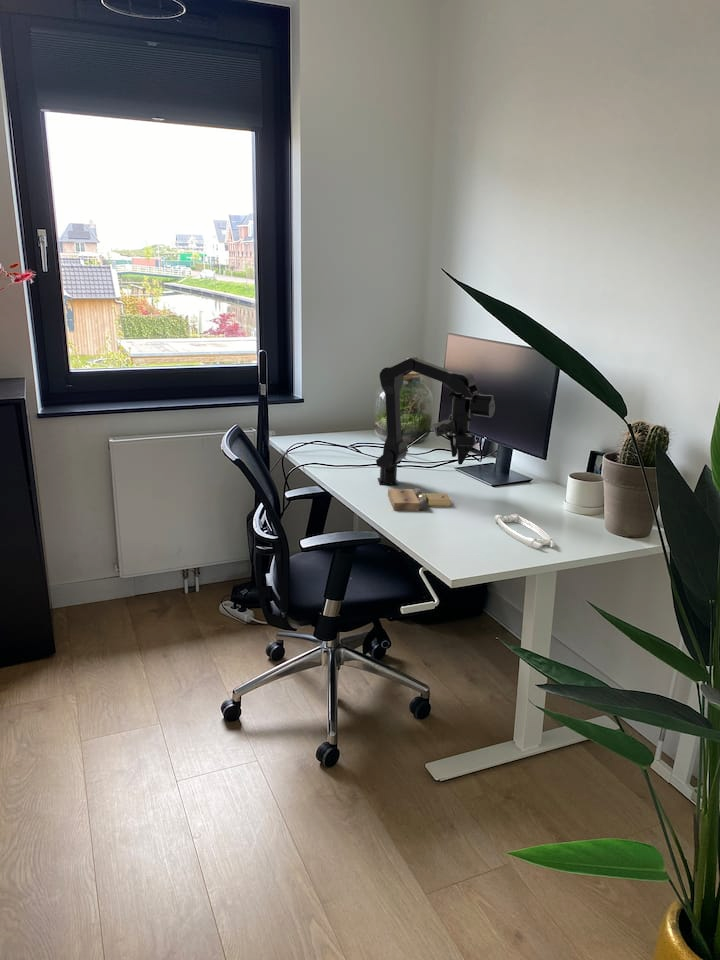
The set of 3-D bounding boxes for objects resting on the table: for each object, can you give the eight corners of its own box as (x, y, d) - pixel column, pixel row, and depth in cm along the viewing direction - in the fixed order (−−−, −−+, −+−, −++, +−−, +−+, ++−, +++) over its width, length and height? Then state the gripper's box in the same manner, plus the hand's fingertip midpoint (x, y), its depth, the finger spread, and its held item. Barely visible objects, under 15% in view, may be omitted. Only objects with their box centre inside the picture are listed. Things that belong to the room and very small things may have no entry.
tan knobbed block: (446, 500, 232) (446, 492, 231) (450, 507, 227) (450, 498, 226) (415, 500, 231) (416, 491, 230) (418, 506, 226) (419, 497, 225)
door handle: (530, 553, 194) (487, 520, 216) (562, 550, 197) (516, 518, 219) (531, 543, 193) (488, 512, 215) (563, 541, 196) (517, 510, 218)
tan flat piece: (393, 510, 221) (394, 501, 220) (387, 495, 234) (388, 487, 233) (428, 510, 222) (429, 501, 221) (420, 496, 235) (421, 488, 234)
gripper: (430, 406, 237) (427, 452, 242) (441, 418, 220) (437, 468, 224) (463, 407, 239) (459, 453, 243) (477, 419, 221) (473, 468, 225)
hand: (456, 460), depth 234 cm, fingers open, 9 cm apart
